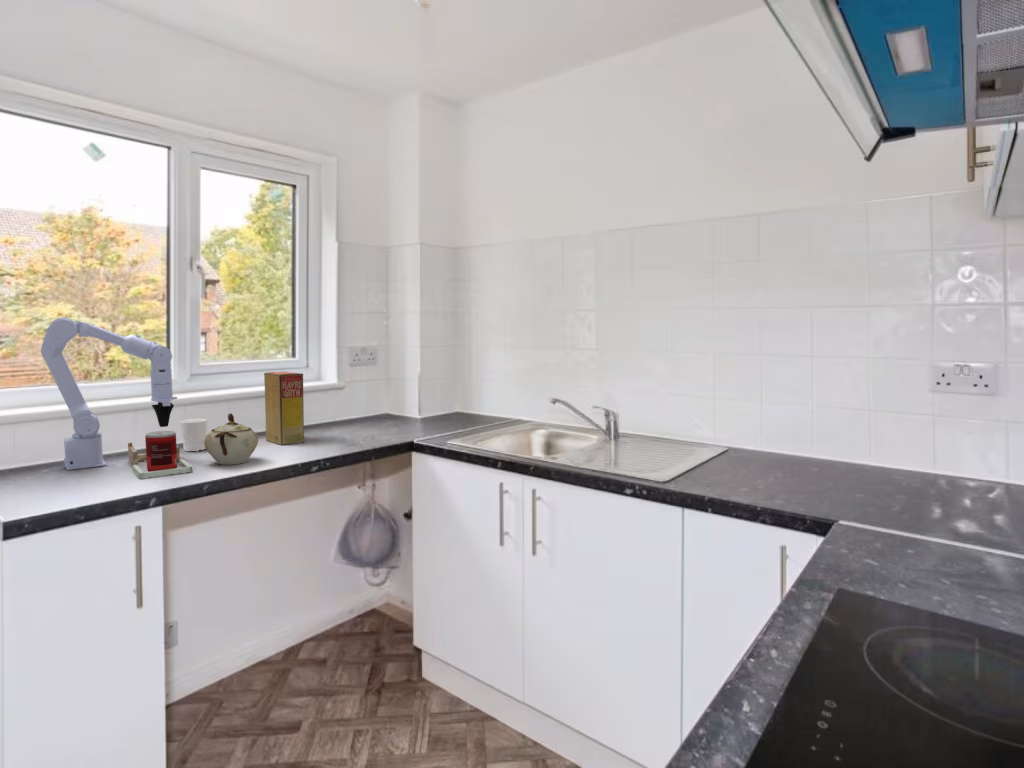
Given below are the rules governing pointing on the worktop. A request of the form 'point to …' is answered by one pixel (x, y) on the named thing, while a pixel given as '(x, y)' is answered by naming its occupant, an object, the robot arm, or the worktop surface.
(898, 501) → the worktop surface
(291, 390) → the food packaging
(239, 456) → the sugar bowl
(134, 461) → the holder
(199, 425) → the white cup
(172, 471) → the bay
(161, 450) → the canned food
